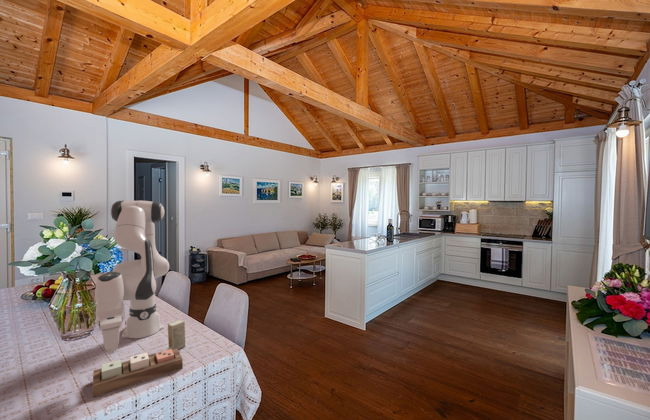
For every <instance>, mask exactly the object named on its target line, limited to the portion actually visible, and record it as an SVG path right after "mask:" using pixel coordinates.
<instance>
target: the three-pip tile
mask: <svg viewBox="0 0 650 420" xmlns="http://www.w3.org/2000/svg"><path fill="white" fill-rule="evenodd" d="M155 353H156V364H158V363H161V362H164V361H168V360H171V359H174V353H173V351H172V349H169V348H168V349H166V350H165V349H164V350H162V352H161V351H158V352H155Z"/></svg>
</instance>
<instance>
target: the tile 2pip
mask: <svg viewBox="0 0 650 420" xmlns="http://www.w3.org/2000/svg"><path fill="white" fill-rule="evenodd" d="M148 355H149V353H148V352H147V351H146V352H143V353H140V354H135V355H132V356H130V357H129V360H130V371H134V370H138V369H141V368H144V367H148V366H149V356H148Z"/></svg>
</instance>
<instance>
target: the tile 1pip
mask: <svg viewBox="0 0 650 420" xmlns="http://www.w3.org/2000/svg"><path fill="white" fill-rule="evenodd" d="M121 363H122V359H117V360H113V361H110V362H107V363H103V364H101V368H102V380H104V379H108V378H111V377H114V376H118V375H121V374H122V366H121Z"/></svg>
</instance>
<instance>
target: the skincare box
mask: <svg viewBox="0 0 650 420" xmlns="http://www.w3.org/2000/svg"><path fill="white" fill-rule="evenodd" d="M185 325H186V324H185V321H184V320H182V319H178V320H175V321H172V322H170V323H167V332H168V333H167V337H168V350H169V349H172V348H176V347H177V349H178V350H179V349H182V348H185V347H186V330H185V329H186V326H185Z"/></svg>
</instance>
